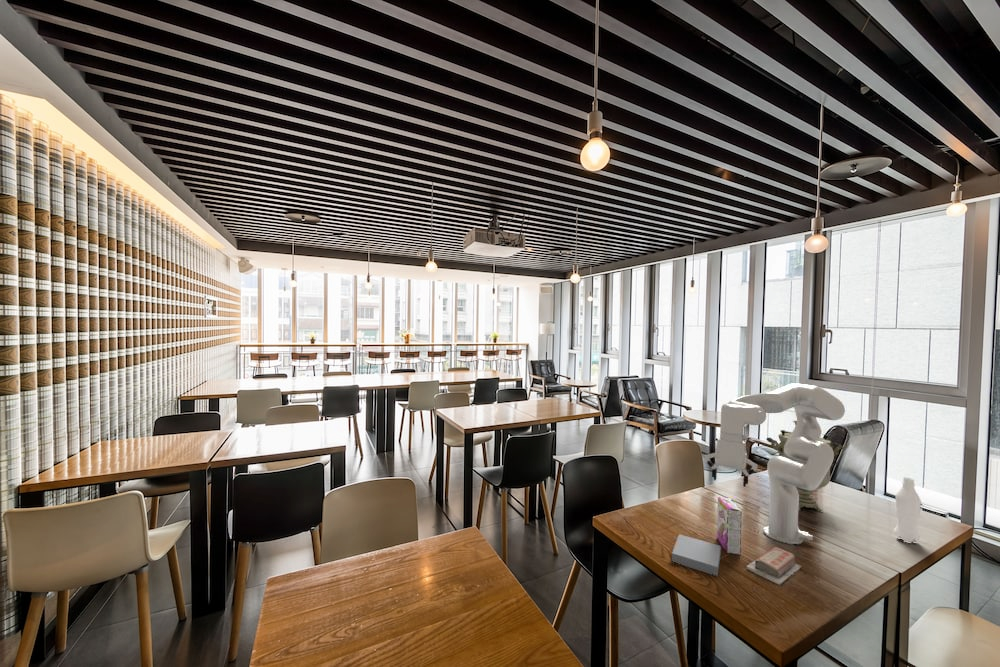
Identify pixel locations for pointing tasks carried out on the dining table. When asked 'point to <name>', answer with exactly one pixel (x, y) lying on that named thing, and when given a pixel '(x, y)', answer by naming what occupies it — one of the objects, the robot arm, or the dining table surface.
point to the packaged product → (775, 565)
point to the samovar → (805, 494)
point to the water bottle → (907, 512)
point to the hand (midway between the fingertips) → (729, 482)
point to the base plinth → (697, 554)
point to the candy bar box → (729, 525)
